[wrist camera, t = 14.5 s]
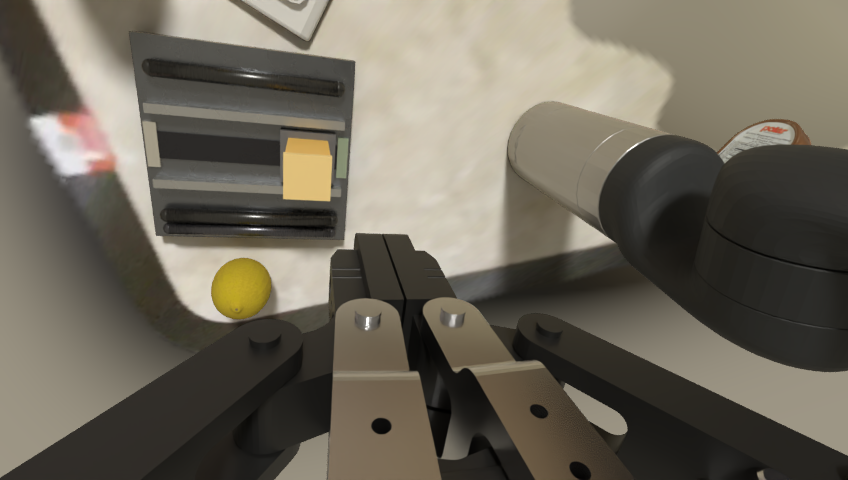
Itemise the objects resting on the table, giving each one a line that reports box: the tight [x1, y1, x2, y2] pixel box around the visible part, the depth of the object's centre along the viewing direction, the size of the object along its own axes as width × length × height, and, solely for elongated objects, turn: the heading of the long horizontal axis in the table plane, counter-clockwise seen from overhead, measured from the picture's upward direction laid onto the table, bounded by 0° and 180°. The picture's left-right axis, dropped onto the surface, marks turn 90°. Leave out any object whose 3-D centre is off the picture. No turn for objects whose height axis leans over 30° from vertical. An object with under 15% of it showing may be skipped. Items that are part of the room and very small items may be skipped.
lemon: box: [211, 258, 271, 319], centre depth 43 cm, size 6×6×8 cm
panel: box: [129, 31, 355, 240], centre depth 40 cm, size 18×18×3 cm
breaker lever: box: [280, 129, 336, 201], centre depth 38 cm, size 5×5×7 cm
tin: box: [717, 119, 811, 164], centre depth 52 cm, size 15×3×8 cm, turn 138°
